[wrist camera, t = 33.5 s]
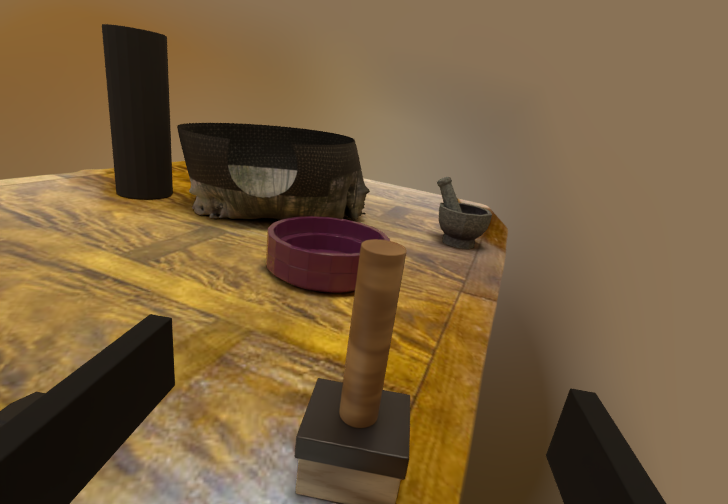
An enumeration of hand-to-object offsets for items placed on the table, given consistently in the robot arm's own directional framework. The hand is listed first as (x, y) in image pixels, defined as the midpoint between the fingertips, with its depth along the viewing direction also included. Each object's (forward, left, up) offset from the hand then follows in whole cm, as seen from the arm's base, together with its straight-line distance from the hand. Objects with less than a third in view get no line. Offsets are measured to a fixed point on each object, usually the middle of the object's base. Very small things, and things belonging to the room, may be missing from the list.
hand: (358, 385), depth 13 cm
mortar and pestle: (+4, -66, -14) cm, 67 cm away
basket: (+39, -58, -14) cm, 71 cm away
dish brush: (+2, -9, -14) cm, 16 cm away
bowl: (+18, -38, -14) cm, 44 cm away
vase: (+66, -51, -14) cm, 85 cm away
